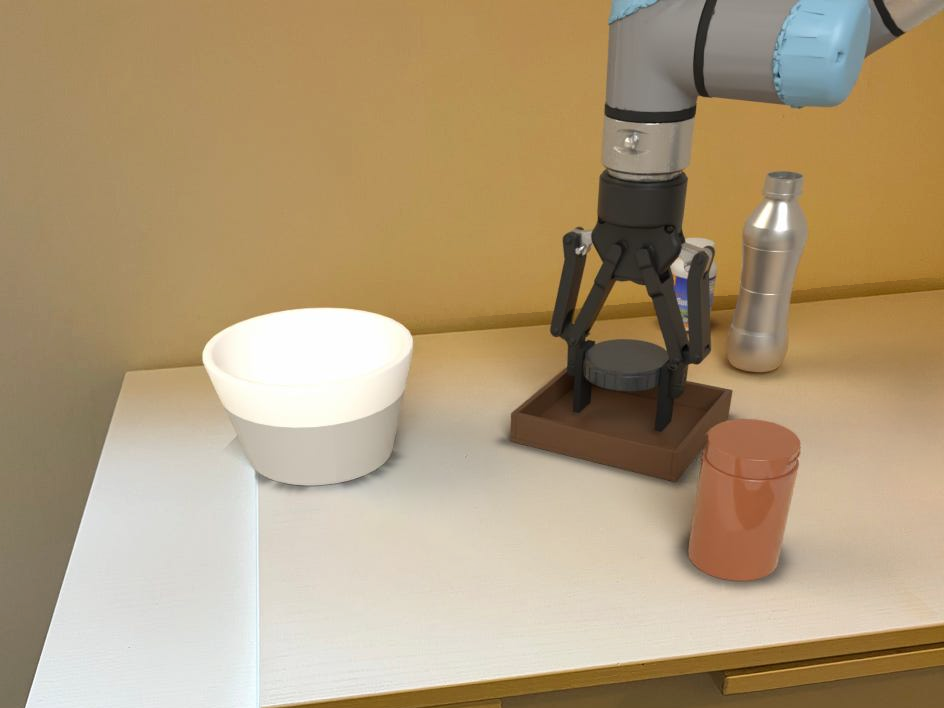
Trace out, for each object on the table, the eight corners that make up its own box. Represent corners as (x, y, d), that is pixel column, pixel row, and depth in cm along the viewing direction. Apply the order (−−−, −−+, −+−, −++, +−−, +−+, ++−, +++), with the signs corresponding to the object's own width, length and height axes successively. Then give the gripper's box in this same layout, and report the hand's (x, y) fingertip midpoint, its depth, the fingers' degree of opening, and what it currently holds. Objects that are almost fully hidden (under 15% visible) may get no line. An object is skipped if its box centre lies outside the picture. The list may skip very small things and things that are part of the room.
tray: (728, 417, 101) (732, 389, 99) (675, 482, 91) (679, 452, 89) (575, 384, 108) (576, 358, 106) (510, 441, 98) (510, 413, 96)
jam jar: (788, 546, 82) (814, 429, 76) (762, 590, 77) (788, 470, 71) (704, 524, 85) (722, 410, 79) (675, 566, 80) (691, 447, 74)
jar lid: (569, 381, 95) (570, 362, 94) (604, 351, 100) (605, 333, 99) (649, 398, 92) (651, 379, 91) (680, 366, 97) (683, 348, 96)
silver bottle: (774, 383, 107) (811, 186, 95) (714, 372, 110) (742, 179, 98) (790, 362, 112) (828, 171, 99) (732, 352, 115) (761, 164, 102)
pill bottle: (655, 322, 122) (663, 241, 116) (686, 313, 124) (696, 232, 118) (686, 336, 119) (697, 252, 112) (718, 325, 121) (730, 243, 115)
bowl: (185, 486, 92) (161, 376, 85) (271, 399, 106) (256, 299, 100) (381, 511, 88) (372, 398, 81) (443, 418, 102) (439, 315, 96)
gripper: (515, 166, 86) (511, 409, 100) (750, 195, 78) (709, 455, 92) (553, 148, 91) (544, 381, 105) (777, 174, 83) (735, 423, 97)
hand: (621, 415), depth 99 cm, fingers closed on jar lid, 8 cm apart
